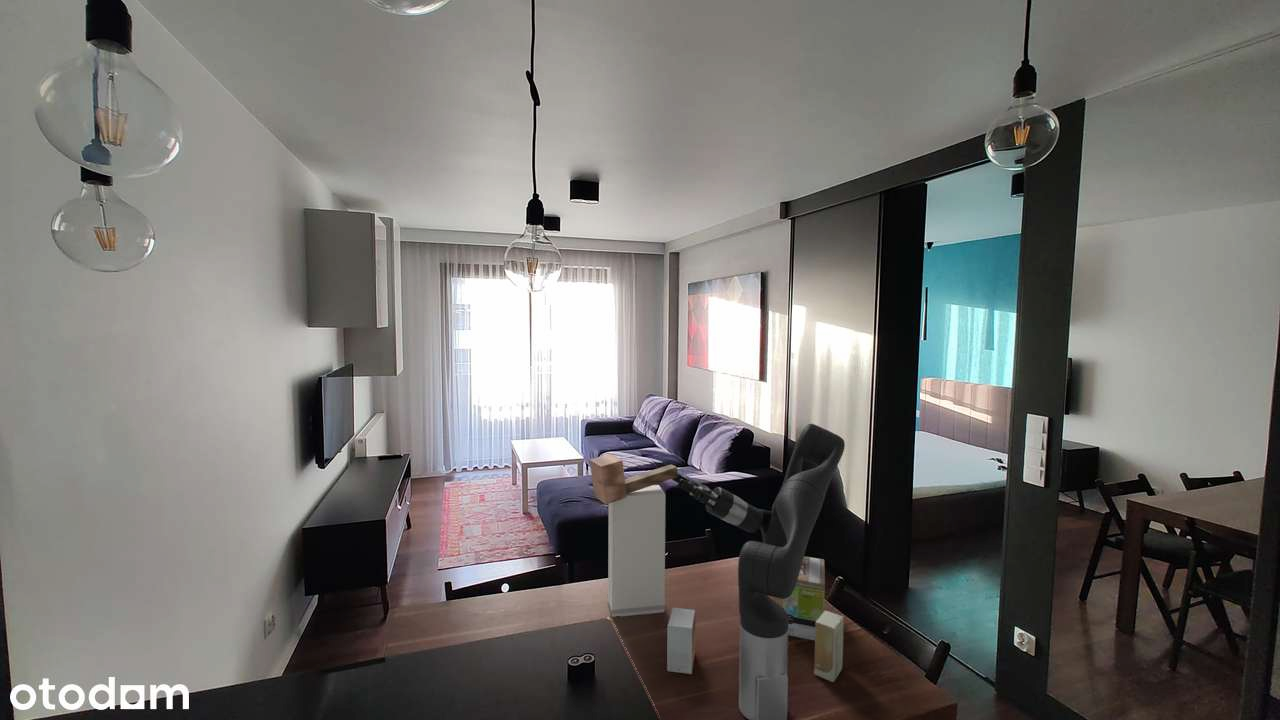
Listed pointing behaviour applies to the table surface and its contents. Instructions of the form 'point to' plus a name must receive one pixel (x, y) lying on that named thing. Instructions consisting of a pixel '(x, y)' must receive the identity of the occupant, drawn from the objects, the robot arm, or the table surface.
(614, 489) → the mallet
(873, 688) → the table surface
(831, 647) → the skincare box
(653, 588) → the pedestal
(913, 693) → the table surface
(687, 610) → the small box
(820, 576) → the green coffee box
